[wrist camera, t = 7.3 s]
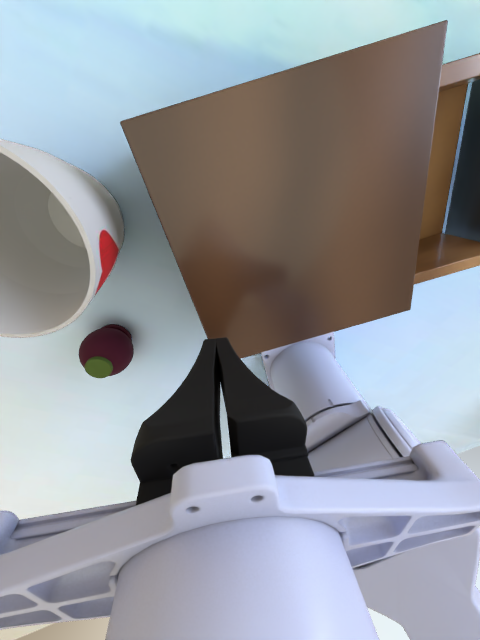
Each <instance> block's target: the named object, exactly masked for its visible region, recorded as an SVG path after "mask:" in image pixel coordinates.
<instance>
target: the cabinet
mask: <svg viewBox="0 0 480 640" xmlns="http://www.w3.org/2000/svg"><path fill="white" fill-rule="evenodd" d="M447 23H448V21H447V20H445V21H442V22H438V23H435V24H432V25H429V26H426V27H422V28H419V29H416V30H413V31H409V32H406V33H403V34H400V35H397V36H393V37H390V38H387V39H384V40H381V41H377V42H374V43H371V44H368V45H364V46H361V47H358V48H355V49H352V50H348V51H345V52H342V53H339V54H336V55H332V56H329V57H326V58H323V59H319V60H316V61H313V62H310V63H307V64H303V65H300V66H297V67H294V68H291V69H287V70H284V71H281V72H278V73H274V74H271V75H268V76H265V77H262V78H258V79H255V80H252V81H249V82H246V83H242V84H239V85H236V86H233V87H229V88H226V89H223V90H220V91H217V92H213V93H210V94H207V95H204V96H201V97H197V98H194V99H191V100H188V101H184V102H181V103H178V104H175V105H172V106H168V107H165V108H162V109H159V110H155V111H152V112H149V113H146V114H143V115H139V116H136V117H133V118H130V119H127V120H123V121H121V122H120V124H121V126H122V129H123V131H124V134H125V136H126V139H127V141H128V143H129V146H130V148H131V151H132V153H133V156H134V158H135V161H136V163H137V166H138V168H139V171H140V173H141V175H142V178H143V180H144V183H145V185H146V188H147V190H148V193H149V195H150V198H151V200H152V203H153V205H154V207H155V210H156V212H157V215H158V217H159V220H160V222H161V225H162V227H163V230H164V232H165V235H166V237H167V239H168V242H169V244H170V247H171V249H172V252H173V254H174V257H175V259H176V262H177V264H178V267H179V269H180V271H181V274H182V276H183V279H184V281H185V284H186V286H187V289H188V291H189V294H190V296H191V299H192V301H193V303H194V306H195V308H196V311H197V313H198V316H199V318H200V321H201V323H202V326H203V328H204V331H205V333H206V335H207V338H208V339H214V338H223V337H227V338H228V339H229V342H230V344H231V346H232V347H233V349H234V351H235V352H236V354H237V355H238V356H239V358H240V359H241V358H244V357H248V356H251V355H255V354H258V353H261V352H265V351H268V350H272V349H275V348H279V347H282V346H286V345H289V344H293V343H296V342H300V341H303V340H307V339H310V338H314V337H317V336H321V335H324V334H328V333H331V332H335V331H338V330H341V329H345V328H348V327H352V326H355V325H359V324H362V323H366V322H369V321H373V320H376V319H380V318H383V317H387V316H390V315H394V314H397V313H401V312H404V311H408V310H410V308H411V300H412V293H413V285H414V277H415V269H416V262H417V254H418V246H419V239H420V231H421V223H422V216H423V208H424V200H425V192H426V185H427V177H428V169H429V162H430V154H431V146H432V138H433V131H434V123H435V115H436V108H437V100H438V92H439V84H440V77H441V69H442V61H443V54H444V46H445V38H446V31H447Z"/></svg>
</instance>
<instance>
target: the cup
mask: <svg viewBox="0 0 480 640" xmlns="http://www.w3.org/2000/svg"><path fill="white" fill-rule="evenodd" d="M123 240H124V223H123V218H122V214H121V211H120V208H119V206H118V204H117V202H116V201H115V199H114V198H113V196H112V195H111V194H110V193H109V191H108V190H107V189H106V188H105V187H104V186H103V185H102V184H101V183H100V182H99V181H98V180H97V179H95V178H94V177H93V176H91V175H90V174H88V173H87V172H85V171H83V170H81V169H79V168H77V167H75V166H73V165H71V164H69V163H67V162H65V161H63V160H61V159H59V158H57V157H55V156H53V155H51V154H48V153H46V152H44V151H41V150H38V149H35V148H32V147H29V146H25V145H21V144H18V143H14V142H11V141H7V140H3V139H0V336H2V337H14V338H23V337H35V336H41V335H45V334H49V333H52V332H55V331H58V330H60V329H62V328H64V327H66V326H67V325H69V324H70V323H72V322H73V321H74V320H76V319H77V318H78V317H79V316H80V315H81V314H82V312H83V311H84V310H85V308H86V307H87V306H88V304H89V303H90V301H91V300H92V299H93V297H94V296H95V295H96V293H97V292H98V290H99V289H100V288H101V286H102V285H103V283H104V282H105V281H106V279H107V278H108V277H109V275H110V274H111V272H112V270H113V268H114V266H115V263H116V261H117V258H118V255H119V253H120V250H121V247H122V244H123Z"/></svg>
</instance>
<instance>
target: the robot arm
mask: <svg viewBox="0 0 480 640" xmlns="http://www.w3.org/2000/svg"><path fill="white" fill-rule="evenodd" d="M328 337H330V338H328ZM265 355H267V356H265ZM261 356H262V360H263V364H264V367H265V371H266V375H267V378H268V382H269V385H270V387H268V386H267V385H266V384H264V383H263V382H262V381H261V380H260V379H258V378H257V377H256V376H255V375H254V374H253V373H252V372H251V371H250V370H249V369H248V368H247V367H246V365H245V364H244V363H243V362H242V361H241V359H240V358H239V356H238V355H237V354H236V352H235V351H234V349H233V347H232V346H231V344H230V342H229V339H228V338H227V337H223V338H214V339H205V340H204V341H203V345H202V348H201V351H200V353H199V355H198V357H197V359H196V362H195V364H194V365H193V367H192V369H191V371H190V372H189V374H188V376H187V377H186V379H185V380H184V381H183V383H182V384H181V386H180V387H179V388H178V389H177V391H176V392H175V393H174V394H173V395H172V396H171V398H170V399H169V400H168V401H167V402H166V403H165V404H164V405H163V406H162V407H161V408H160V409H159V410H157V411H156V412H155V413H154V414H153V415H151V416H150V417H149V418H148V419H147V420H145V421H144V422H143V423H142V425H141V428H140V430H139V432H138V435H137V437H136V440H135V444H134V448H133V452H132V457H131V463H132V466H133V468H134V470H135V472H136V474H137V476H138V479H139V481H140V486H139V491H138V496H137V501H131V502H125V503H119V504H113V505H107V506H101V507H95V508H89V509H83V510H77V511H71V512H64V513H58V514H52V515H46V516H40V517H34V518H28V519H22V520H19V519H18V517H17V516H16V515H15V514H14V513H12V512H10V511H0V630H2V629H9V628H15V627H23V626H32V625H40V624H49V623H59V622H67V621H77V620H86V619H96V618H105V617H110V619H109V624H108V629H107V634H106V639H105V640H379V638H378V635H377V632H376V630H375V627H374V625H373V622H372V619H371V617H370V614H369V611H368V609H367V607H368V608H370V609H372V610H374V611H376V612H378V613H381V614H382V615H385V616H387V617H388V618H390V619H392V620H394V621H396V622H397V623H399V624H400V625H401V626H402V627H403V628H404V630H405V632H406V633H407V635H408V637H409V638H410V640H480V591H479V590H478V589H477V587H476V586H475V583H476V577H477V571H478V565H479V560H480V527H479V526H480V480H479V478H477V476H476V475H475V474H474V473H473V472H472V471H471V470H470V468H469V467H468V466H467V465H466V464H465V463H464V462H463V461H462V460H461V459H460V458H459V456H458V455H457V454H456V453H455V452H454V451H453V450H452V449H451V448H450V446H449V445H448V444H447V443H446V442H445V441H443V440H439V441H433V442H427V443H420V442H419V440H418V439H417V438H416V437H415V436H414V434H413V433H412V432H411V431H410V430H409V429H408V428H407V426H406V425H405V424H404V423H403V422H402V421H401V420H400V419H399V417H398V416H397V415H396V414H395V413H394V412H393V411H392V410H390V409H386V408H382V407H380V406H377V407H375V408H374V409H373V410H372V409H371V408H370V407H369V405H368V404H367V403H366V401H365V400H364V398H363V397H362V396H361V394H360V393H359V391H358V390H357V389H356V387H355V386H354V385H353V383H352V382H351V380H350V379H349V378H348V376H347V375H346V373H345V372H344V371H343V369H342V368H341V366H340V365H339V364H338V362H337V361H336V359H335V344H334V332H331V333H328V334H324V335H321V336H317V337H314V338H310V339H307V340H303V341H300V342H296V343H293V344H289V345H286V346H282V347H279V348H275V349H272V350H268V351H265V352H261ZM220 382H221V387H222V392H223V397H224V402H225V407H226V412H227V419H228V428H229V438H230V447H231V458H224V459H223V455H222V443H221V430H220Z"/></svg>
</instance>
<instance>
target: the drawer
mask: <svg viewBox="0 0 480 640" xmlns="http://www.w3.org/2000/svg"><path fill="white" fill-rule="evenodd" d="M470 82H472V87H471V93H470V98H469V104H468V109H467V115H466V120H465V126H464V131H463V137H462V142H461V148H460V153H459V159H458V164H457V170H456V175H455V181H454V186H453V192H452V197H451V203H450V208H449V214H448V219H447V225H446V230H445V233H442V229H443V223H444V217H445V212H446V206H447V200H448V195H449V189H450V183H451V177H452V172H453V166H454V160H455V155H456V149H457V143H458V137H459V132H460V126H461V120H462V115H463V109H464V103H465V97H466V92H467V86H468V83H470ZM479 265H480V53H479V54H475V55H472V56H469V57H466V58H462V59H459V60H456V61H453V62H449V63H446V64H443V65H442V69H441V77H440V84H439V92H438V100H437V108H436V115H435V123H434V131H433V138H432V146H431V154H430V162H429V169H428V177H427V185H426V192H425V200H424V208H423V216H422V223H421V231H420V239H419V246H418V254H417V262H416V269H415V277H414V284H417V283H421V282H424V281H427V280H431V279H434V278H438V277H441V276H445V275H448V274H452V273H455V272H458V271H462V270H465V269H469V268H472V267H476V266H479Z"/></svg>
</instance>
